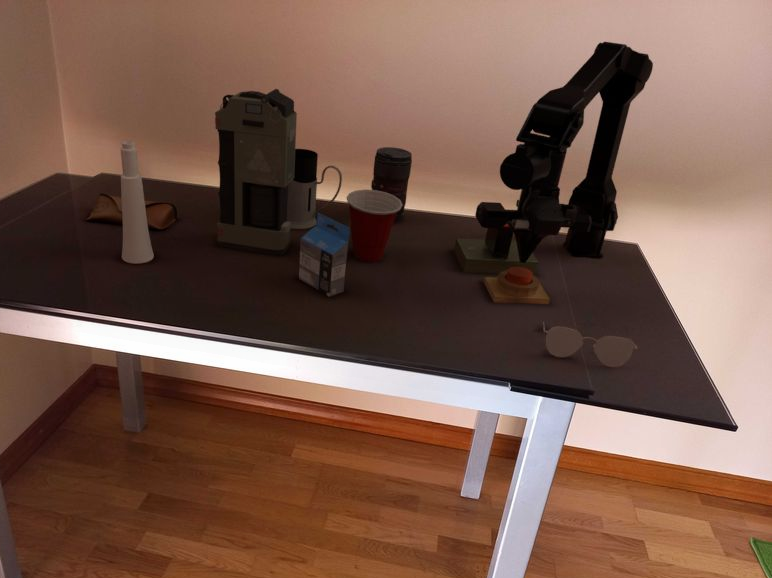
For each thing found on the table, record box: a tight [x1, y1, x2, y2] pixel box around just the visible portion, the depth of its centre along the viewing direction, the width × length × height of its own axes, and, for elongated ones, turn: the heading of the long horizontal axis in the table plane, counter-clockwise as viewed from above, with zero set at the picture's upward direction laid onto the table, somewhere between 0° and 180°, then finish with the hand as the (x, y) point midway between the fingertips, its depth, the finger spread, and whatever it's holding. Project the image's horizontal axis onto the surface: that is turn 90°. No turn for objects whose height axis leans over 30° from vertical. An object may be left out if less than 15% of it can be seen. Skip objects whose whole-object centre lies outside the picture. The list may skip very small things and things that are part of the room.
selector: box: [484, 223, 514, 257], centre depth 136 cm, size 7×3×6 cm, turn 0°
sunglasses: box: [542, 321, 638, 368], centre depth 112 cm, size 14×8×5 cm, turn 73°
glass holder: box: [287, 148, 343, 230], centre depth 149 cm, size 9×14×15 cm, turn 64°
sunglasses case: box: [85, 192, 178, 231], centre depth 149 cm, size 18×7×7 cm, turn 78°
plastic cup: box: [346, 189, 403, 263], centre depth 136 cm, size 11×11×12 cm
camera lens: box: [370, 146, 413, 223], centre depth 154 cm, size 8×8×15 cm
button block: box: [483, 270, 551, 305], centre depth 128 cm, size 10×8×3 cm
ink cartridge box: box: [298, 212, 351, 297], centre depth 124 cm, size 9×4×12 cm, turn 40°
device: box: [214, 88, 298, 256], centre depth 133 cm, size 14×8×30 cm, turn 74°
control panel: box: [453, 238, 539, 276], centre depth 138 cm, size 14×11×3 cm
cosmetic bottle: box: [120, 140, 155, 265], centre depth 128 cm, size 6×6×22 cm
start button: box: [506, 267, 534, 285], centre depth 126 cm, size 4×4×2 cm
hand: (522, 262), depth 125 cm, fingers closed
